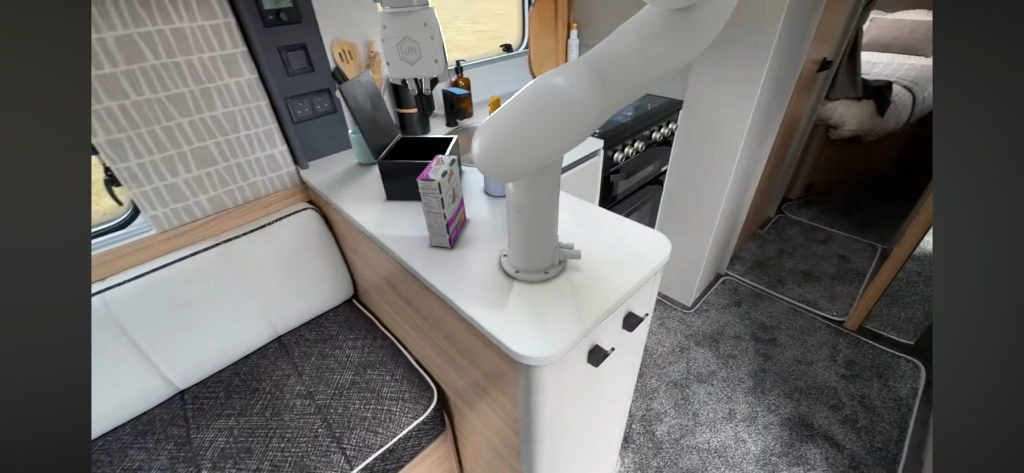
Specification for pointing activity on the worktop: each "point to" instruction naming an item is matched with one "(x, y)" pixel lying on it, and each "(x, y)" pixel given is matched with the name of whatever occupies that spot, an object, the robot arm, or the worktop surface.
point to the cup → (360, 147)
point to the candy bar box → (442, 200)
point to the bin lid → (369, 112)
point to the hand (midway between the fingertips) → (427, 115)
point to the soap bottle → (489, 185)
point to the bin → (412, 163)
